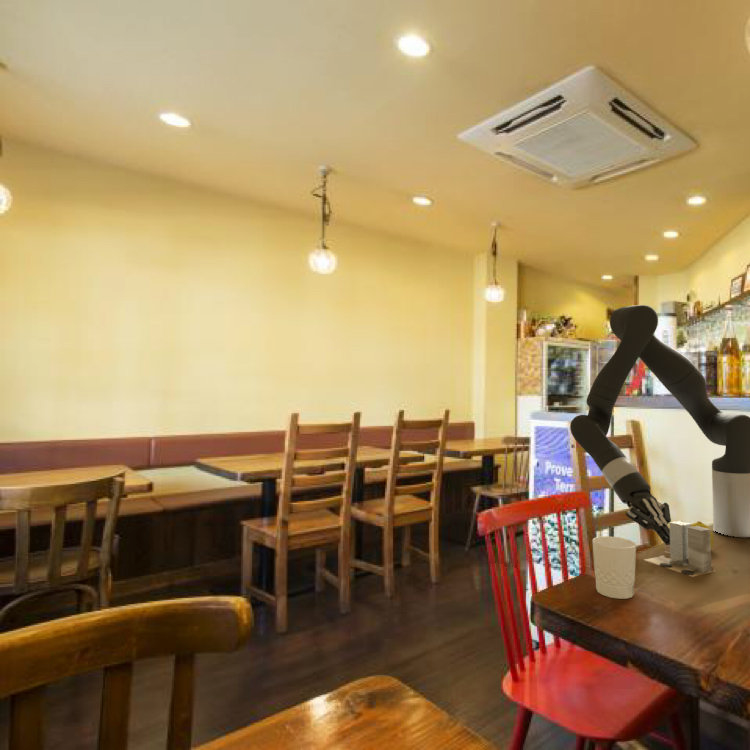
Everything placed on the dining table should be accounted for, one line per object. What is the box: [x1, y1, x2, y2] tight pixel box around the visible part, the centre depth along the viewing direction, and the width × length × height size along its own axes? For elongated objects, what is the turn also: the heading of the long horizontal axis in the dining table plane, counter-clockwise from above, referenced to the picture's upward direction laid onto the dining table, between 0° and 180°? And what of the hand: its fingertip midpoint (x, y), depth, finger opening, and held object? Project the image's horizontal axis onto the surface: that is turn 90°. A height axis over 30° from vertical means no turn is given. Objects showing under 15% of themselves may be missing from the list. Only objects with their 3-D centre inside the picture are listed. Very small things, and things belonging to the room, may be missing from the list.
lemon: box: [691, 521, 714, 549], centre depth 125 cm, size 6×6×8 cm
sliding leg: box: [669, 520, 692, 567], centre depth 115 cm, size 5×3×9 cm, turn 114°
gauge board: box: [643, 526, 716, 578], centre depth 114 cm, size 8×12×10 cm, turn 24°
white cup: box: [592, 535, 637, 600], centre depth 103 cm, size 8×8×10 cm
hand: (672, 542), depth 117 cm, fingers closed
